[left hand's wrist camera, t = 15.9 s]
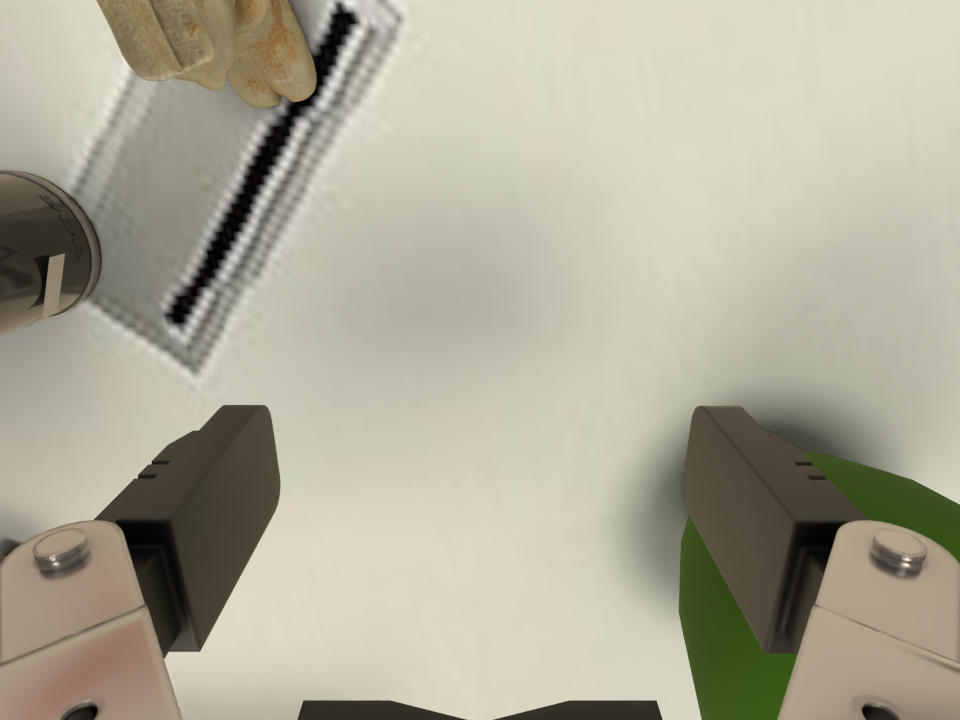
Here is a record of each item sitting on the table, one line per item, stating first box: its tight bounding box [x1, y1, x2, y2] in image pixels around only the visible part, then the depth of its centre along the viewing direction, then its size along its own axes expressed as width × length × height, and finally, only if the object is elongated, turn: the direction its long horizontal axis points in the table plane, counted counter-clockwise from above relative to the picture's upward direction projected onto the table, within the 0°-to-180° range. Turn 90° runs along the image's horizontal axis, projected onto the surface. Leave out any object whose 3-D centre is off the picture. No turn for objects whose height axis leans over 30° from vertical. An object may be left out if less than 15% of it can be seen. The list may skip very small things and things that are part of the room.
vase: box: [679, 452, 960, 720], centre depth 34 cm, size 20×20×24 cm
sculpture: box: [97, 0, 316, 108], centre depth 28 cm, size 6×7×15 cm
